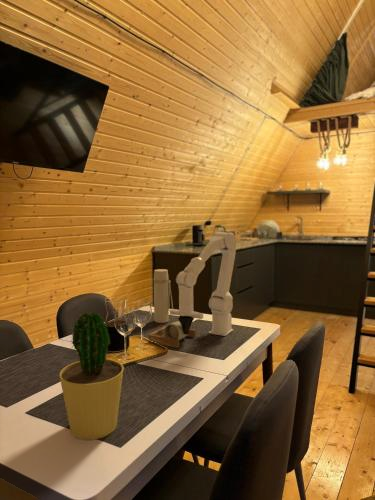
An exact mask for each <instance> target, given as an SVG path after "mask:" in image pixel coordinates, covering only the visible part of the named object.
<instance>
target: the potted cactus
mask: <svg viewBox="0 0 375 500" xmlns="http://www.w3.org/2000/svg"><path fill="white" fill-rule="evenodd" d="M100 314H101V312H99V311H97V312H96V311H95V312H84V313H83V314H82V313H81V312H80V313H79V315H80V316H79V317H78V316H77V317H76V318H75V320H76V322H74V325H73V327H71V329H72V333H71V337H70V338H71V339H70V340H69V341H68V342H69V343H71V344H72V346H71V349H73V350H74V353H76V352H77V353H78V354H76V356H78V359H79V361H74V362H72V363H70V364H68V365H66V366H65V367H63V368H62V369H61V370H60V372H59V378H60V379H59V380H60V384H61V385H60V386H61V389H62V394H63V400H64V404H65V409H66V415H67V420H68V424H69V429H70V432H71V434H72V436H73V437H75V438H76V439H80V440H84V441H85V440H88V441H89V440H98V439H101V438H104V437H106V436H108V435H110V434H111V433H112V432H114V431H115V430H116V427H117V424H118V417H119V407H120V400H121V392H122V384H123V376H124V371H125V370H124V369H125V367H124V365H123V363H121V362H120V361H118V360H116V359H111V358H107V357H106V356H107V352H110V350H109V349H108V347H109V344H110V345H111V346H112V343H110V342H111V339H110V338H111V336H110V334H111V333H108V331H110V330H111V328H110V329H108V328H109V327H108V328H107V325H106V324H107V321H104V320H105V318H104V317H103V316H101V315H100Z"/></svg>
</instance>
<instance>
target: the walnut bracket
mask: <svg viewBox="0 0 375 500" xmlns="http://www.w3.org/2000/svg"><path fill="white" fill-rule="evenodd" d="M166 326H167V325H164V326H162V327H161V328H159V329H156V330H155V331H153V332H151V333H149V334H148V335H147V336H148V337H147V339H148V340H150V341H153V342H156V343H158V344H157V345H162V346H166V347H172V348H175V349H178V348H180V340H178V339H173V338H167V337H162V334H164V329H165V327H166ZM185 337H191V338H196V337H197V329H195V328H190V330H189V334H187V335H186V336H185ZM148 340H147V341H148ZM156 343H155V344H156Z"/></svg>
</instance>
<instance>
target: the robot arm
mask: <svg viewBox="0 0 375 500" xmlns="http://www.w3.org/2000/svg"><path fill="white" fill-rule="evenodd" d="M208 240H209V241H208V243H207V244H206V246H204V248H203V250H202V251H201V252H200V254H199V255H198V256H197V257H193V258H191V259H190V262H189V264H188V265H187V266H185V268H184V270H183V271H182V270H181V271H180V272H179V273H178V274H177V275H176V278H175V282H176V284H177V285H178V287H177V288H178V305H179V306H178V307H179V309H177V308H176V309H175V308H173V309H172V308H170V311H169V316H170V315H171V316H173V315H174V316H179V317H178V318H177V321H179V322H180V323H181V326H182V328H183V332H184V334H185V335H187V334H189V330H190V329H191V326H192V324H193V322H194V319H198V320H202V319H204V313H203V312H202V313H201V312H198V311H194V286H195V285H196V283H197V279H198V277H199V275H200V274H201V272H202V271H203V270H204V268H205V266H206V261H207V260H208V259H210V257H211V256H212V255H213V254H214V253H215V252H217V251H216V250H219V251H220V253H221V254H222V255H221V256H222V257H221V261H220V267H219V274H218V277H217V278H218V280H217V286H216V289H215V290H214V291H213V292H212V293H211V296H210V298H209V301H208V308H209V309H210V310H211V312H212V314H211V316H212V317H211V318H212V320H211V321H212V322H211V323H212V324H211V326H212V327H211V328H212V329H211V330H210V331H208V334H211V335H218V336H224V337H226V336H227V335H228V334H230V333H231V332H233V331H234V328H232V324H233V323H232V319H233V318H232V314H231V312H232V310H233V306H234V304H233V299H234V297H233V296H232V294H231V293H230V288H231V283H232V282H231V281H232V275H233V270H234V265H235V259H236V253H237V251H236V246H237V242H238V241H237V240H238V239H237V236H236V235H235V234H234V232H223V231H214V232H213V233H212V234H211V235H210V236H209V239H208Z"/></svg>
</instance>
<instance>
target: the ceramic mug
mask: <svg viewBox="0 0 375 500" xmlns="http://www.w3.org/2000/svg"><path fill="white" fill-rule="evenodd" d="M165 326H166V327H165ZM165 326H164V327H165V329H164V334H162V337H167V338H173V339H178V340H179V341H181V340H182V339H184V338H186V337H187V336H186V335H185V334H184V332H183V328H182V326H181V323H180V322H179V320H177V321H174V322H172V323H168V324H166V325H165Z"/></svg>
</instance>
